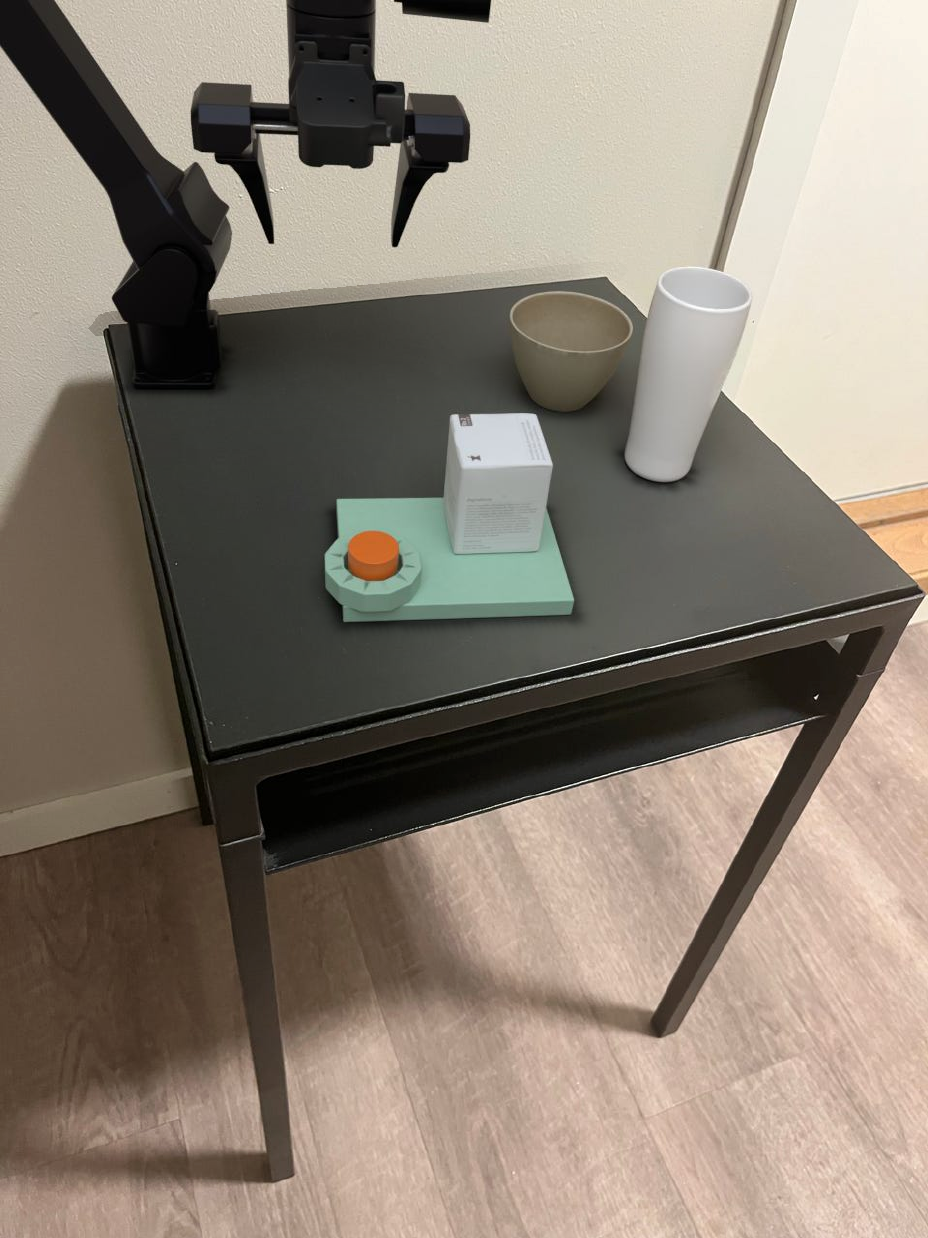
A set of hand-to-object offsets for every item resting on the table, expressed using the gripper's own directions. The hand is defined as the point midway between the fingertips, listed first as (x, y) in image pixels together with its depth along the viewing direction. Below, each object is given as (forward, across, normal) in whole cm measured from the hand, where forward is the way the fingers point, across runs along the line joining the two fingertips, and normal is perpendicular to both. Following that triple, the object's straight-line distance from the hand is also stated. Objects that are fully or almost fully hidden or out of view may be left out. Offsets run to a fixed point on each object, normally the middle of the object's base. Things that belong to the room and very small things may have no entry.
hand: (333, 243), depth 73 cm
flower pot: (+12, +19, -2) cm, 23 cm away
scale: (+12, +7, -23) cm, 27 cm away
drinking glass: (+12, +25, -12) cm, 30 cm away
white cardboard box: (+11, +10, -21) cm, 25 cm away
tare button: (+9, +1, -26) cm, 28 cm away
